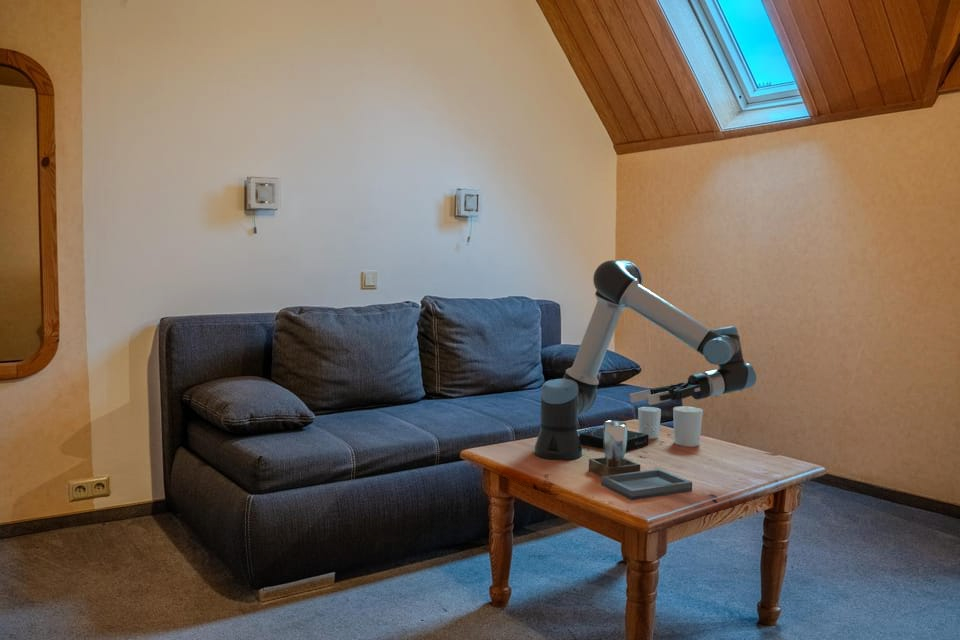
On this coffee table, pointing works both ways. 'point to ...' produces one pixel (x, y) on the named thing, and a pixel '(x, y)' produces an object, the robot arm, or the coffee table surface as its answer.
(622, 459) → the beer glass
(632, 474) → the slate tray
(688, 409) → the candle holder
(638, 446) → the portable cd player
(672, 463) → the coffee table surface
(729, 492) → the coffee table surface
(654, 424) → the white cup
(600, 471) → the walnut holder
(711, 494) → the coffee table surface
